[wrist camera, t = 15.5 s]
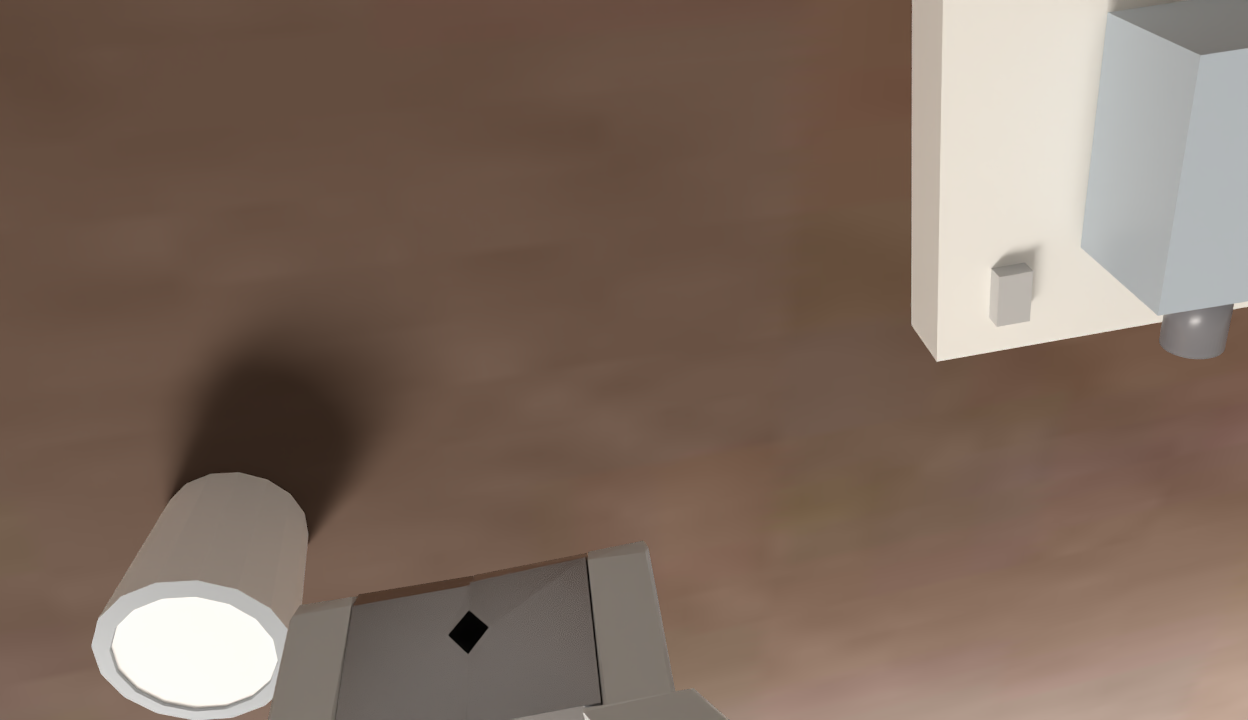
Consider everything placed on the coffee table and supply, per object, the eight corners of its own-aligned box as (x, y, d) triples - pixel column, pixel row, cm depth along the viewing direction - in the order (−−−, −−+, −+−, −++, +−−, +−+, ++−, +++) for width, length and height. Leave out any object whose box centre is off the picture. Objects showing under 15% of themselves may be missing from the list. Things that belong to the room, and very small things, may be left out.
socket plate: (912, -116, 33) (953, -100, 30) (1411, -201, 33) (1502, -194, 30) (911, 324, 41) (943, 371, 38) (1310, 254, 41) (1373, 295, 38)
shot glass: (329, 468, 42) (301, 591, 36) (318, 596, 45) (290, 728, 39) (146, 449, 41) (86, 574, 35) (148, 583, 44) (93, 717, 38)
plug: (1062, -9, 35) (1200, 55, 28) (1238, -35, 35) (1418, 21, 28) (1035, 284, 41) (1144, 397, 34) (1187, 260, 41) (1326, 367, 34)
